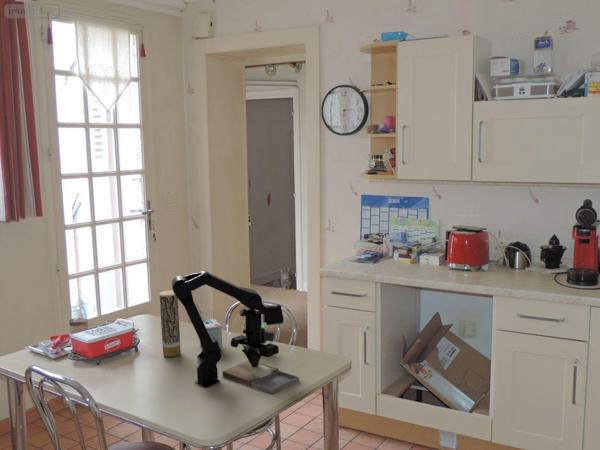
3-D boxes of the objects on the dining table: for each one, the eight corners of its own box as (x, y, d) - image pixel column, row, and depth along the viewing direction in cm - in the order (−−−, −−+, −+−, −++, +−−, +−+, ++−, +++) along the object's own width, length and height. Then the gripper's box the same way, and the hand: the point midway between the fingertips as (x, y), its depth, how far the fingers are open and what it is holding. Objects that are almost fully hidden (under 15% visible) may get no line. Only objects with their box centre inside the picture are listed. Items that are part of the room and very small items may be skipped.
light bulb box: (199, 346, 255) (198, 320, 253) (215, 343, 258) (214, 318, 256) (206, 354, 245) (205, 328, 243) (223, 351, 248) (222, 325, 246)
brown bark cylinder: (176, 358, 242) (173, 295, 238) (160, 357, 243) (156, 294, 239) (183, 352, 248) (180, 290, 244) (167, 351, 250) (163, 290, 246)
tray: (271, 394, 207) (271, 389, 207) (251, 386, 214) (250, 382, 214) (299, 381, 217) (298, 377, 217) (278, 374, 224) (278, 370, 224)
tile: (259, 378, 216) (259, 372, 215) (250, 374, 219) (250, 368, 219) (271, 374, 219) (270, 368, 219) (261, 370, 223) (261, 364, 222)
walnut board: (250, 386, 214) (249, 381, 214) (222, 376, 223) (222, 371, 223) (278, 373, 224) (278, 368, 224) (251, 364, 233) (250, 359, 233)
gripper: (288, 325, 219) (290, 368, 222) (251, 315, 231) (252, 356, 234) (266, 334, 211) (268, 378, 213) (228, 323, 223) (230, 365, 226)
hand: (255, 368), depth 222 cm, fingers closed
